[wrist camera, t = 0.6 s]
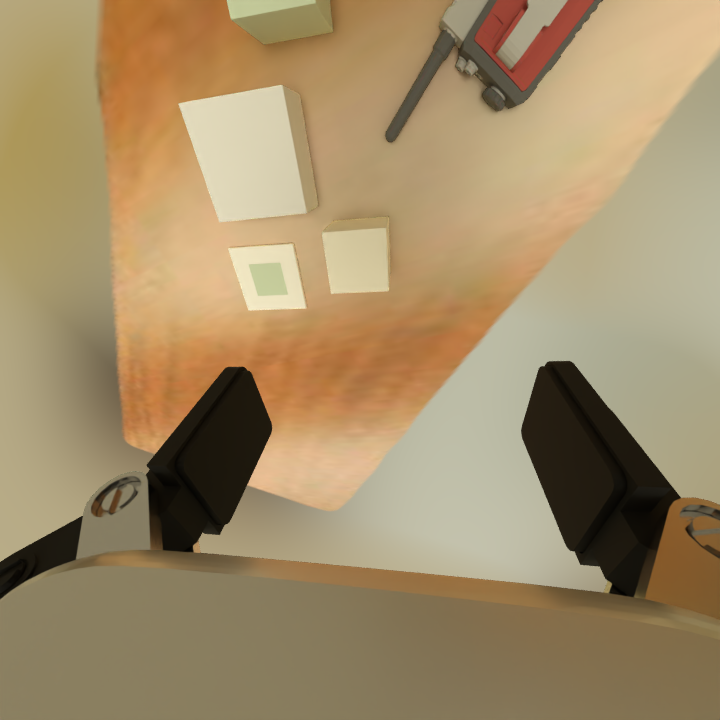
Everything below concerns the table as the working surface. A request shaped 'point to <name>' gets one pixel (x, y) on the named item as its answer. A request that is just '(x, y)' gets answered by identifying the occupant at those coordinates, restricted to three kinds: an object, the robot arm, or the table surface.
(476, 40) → the walkie-talkie
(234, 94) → the base block
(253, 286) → the card
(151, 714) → the robot arm
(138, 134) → the table surface
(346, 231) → the cream cube
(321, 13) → the sage cube
